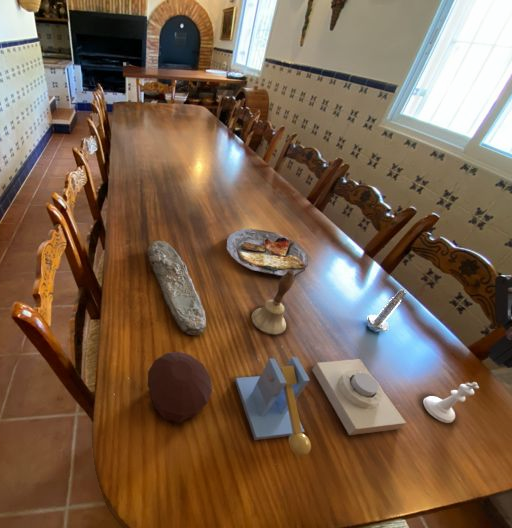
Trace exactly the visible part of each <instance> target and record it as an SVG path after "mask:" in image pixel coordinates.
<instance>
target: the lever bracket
mask: <svg viewBox="0 0 512 528" xmlns="http://www.w3.org/2000/svg"><path fill="white" fill-rule="evenodd" d="M286 366H294V371H295V375H296V380H297V384H292V387H293V392H294V397H295V401H297V399H298V398H299V397H300V395H301V393H302V392H303V391H304V390H305V389H306V387H307V385H308V384H309V383H310V381H311V380H310V378H309V376H308V374H307V372H306V371H305V369H304V367H303V364H302V363H301V361H300V360H299V358H298V357H297V356H291V357H290V359H289V360H288V362H287V364H286ZM279 367H280V366H279V364H278V362H277V360H276V358H268V360H267V363H266V364H265V367H264V368H263V370H262V372H261V374H260V375H257V376H256V375H255V376H245V377H236V378H235V380H234V384H235V386H236V389H237V392H238V395H239V398H240V401H241V404H242V406H243V407H242V408H243V411H244V412H245V415H246V419H247V421H248V425H249V427H250V430H251V433H252V436H253V440H254V441H257V440H258V441H259V440H268V439H269V440H270V439H276V438H285V437H290V435H291V434H292V433H293V432H292V427H291V422H290V417H289V412H288V407H287V402H286V397H285V392H284V386H285V384H286V381H285V379H284V376H283V374H282V372H281V370H280V368H279ZM300 425H301V430H302V433H303V434H305V429H304V428H303V425H302V422H300Z"/></svg>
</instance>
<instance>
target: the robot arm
mask: <svg viewBox="0 0 512 528" xmlns="http://www.w3.org/2000/svg"><path fill="white" fill-rule="evenodd" d="M494 320H495V322H496V323H497V324H499V325H501V326H502V327H503V328H504V330H505V334H504V335H503V336H502V337H501V338H500V339H498V340H496V342H495V343H493V344H492V345H490V346H489V348H488V352H489V354H488V355H487V358H488V359H490V360H491V362H493V363H494V364H495V365H496V366H497V367H499V368H507V369H512V274H508V275H506V274H505V275H497V276H495V279H494Z"/></svg>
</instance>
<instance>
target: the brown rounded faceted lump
mask: <svg viewBox="0 0 512 528" xmlns="http://www.w3.org/2000/svg"><path fill="white" fill-rule="evenodd" d="M147 388H148V390H149V393H150V395H151V400H152V404H153V409H155V410H156V412H158V413H159V415H160V416H161V417H162V419H163V420H165V421H171V422H175V423H177V424H180V423H182V422H184V421H186V420H188V419H192V418H194V417H195V415H196V414H197V413H198V412H199V411H200V410H202V408H203V407H205V406H206V405H207V404H208V403H209V400H210V397H211V395H212V393H213V387H212V379H211V375H210V373H209V371H208V370H207V369H206V367H205V365H204V363H202V362H201V361H199V360H198V359H197V358H195V357H194V356H192V355H191V354H190V353H189V354H188V353H185V352H182V351H172V352H171V351H170V352H167V353H166V352H165V353H164V354H163V355H161V356H160V357H158V358H156V359H155V360H154V361H153V363H152V365H151V366H150V368H149V370H148V371H147Z"/></svg>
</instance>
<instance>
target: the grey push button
mask: <svg viewBox="0 0 512 528" xmlns="http://www.w3.org/2000/svg"><path fill="white" fill-rule="evenodd" d="M375 380H376V378H375V377H374V376H372V377H371V376H370V375H368V374H366V373H363V372H359V373H356V374H355V375H354V376H353V378H352V379H351V386H352V388H353V389H354V390H355V391H356V392H357V393H358V394H360V395H362V396H365V397H371V396H372V395H373V394H375V393H376V392H377V391H378V384H379V383H378V384H377V382H378V381H377V380H376V381H377V382H376V381H375Z"/></svg>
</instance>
